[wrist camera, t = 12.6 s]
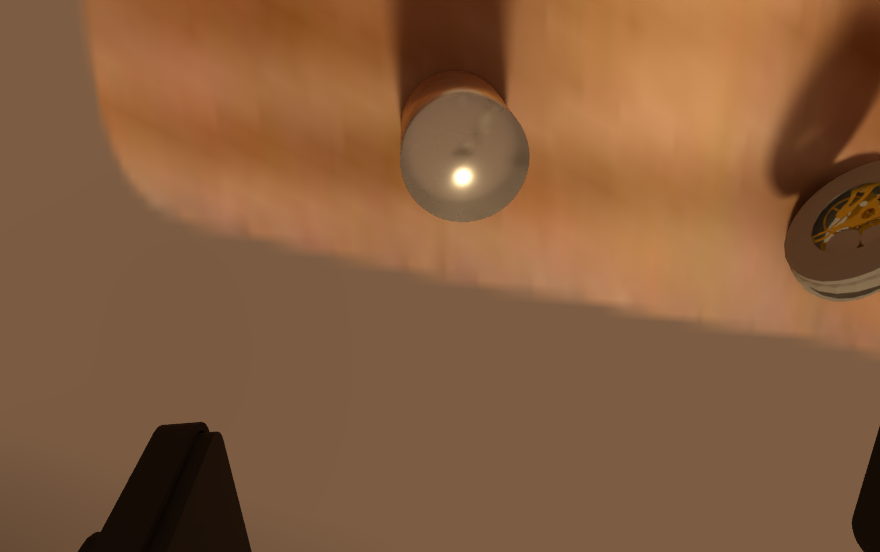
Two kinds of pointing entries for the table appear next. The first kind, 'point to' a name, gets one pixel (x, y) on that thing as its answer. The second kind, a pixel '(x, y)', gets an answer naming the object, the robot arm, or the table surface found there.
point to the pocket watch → (839, 237)
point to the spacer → (461, 148)
